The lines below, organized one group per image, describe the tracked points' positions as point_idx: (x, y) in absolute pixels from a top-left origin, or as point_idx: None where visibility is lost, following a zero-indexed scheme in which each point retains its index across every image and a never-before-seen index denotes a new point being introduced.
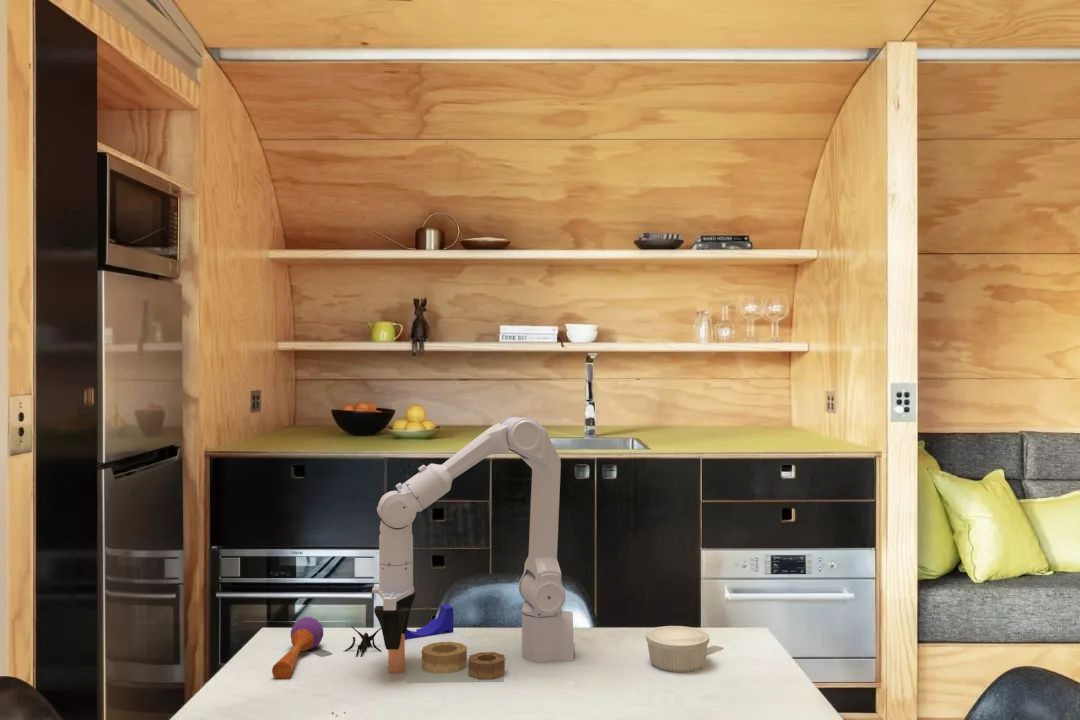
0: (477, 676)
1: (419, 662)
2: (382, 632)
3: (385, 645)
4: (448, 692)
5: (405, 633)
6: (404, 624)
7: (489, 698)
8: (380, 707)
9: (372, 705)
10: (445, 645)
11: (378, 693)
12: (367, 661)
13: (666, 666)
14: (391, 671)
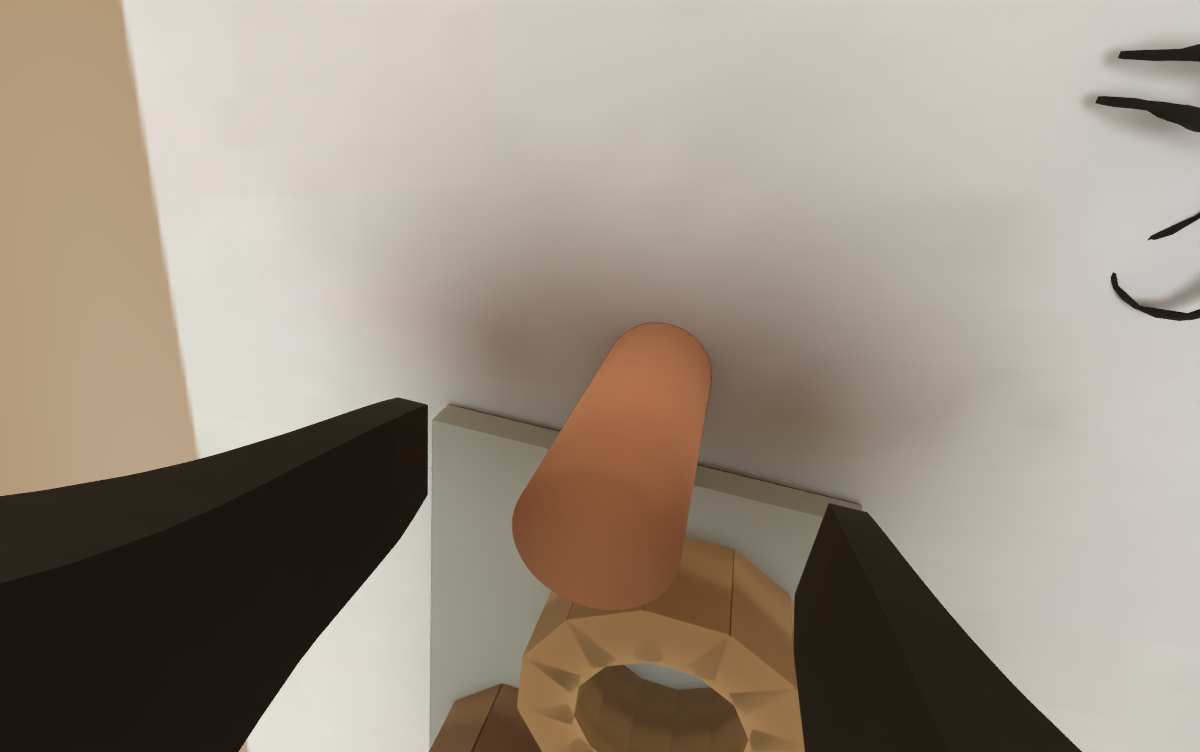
0: (451, 710)
1: (776, 535)
2: (242, 447)
3: (372, 406)
4: (399, 565)
5: (794, 615)
6: (810, 689)
7: (340, 670)
8: (209, 261)
9: (227, 219)
10: (745, 748)
11: (388, 254)
12: (1112, 168)
13: None
14: (607, 357)
